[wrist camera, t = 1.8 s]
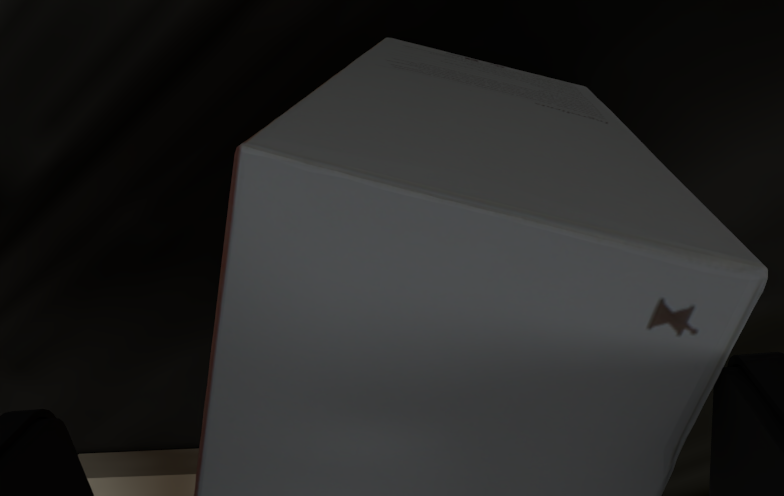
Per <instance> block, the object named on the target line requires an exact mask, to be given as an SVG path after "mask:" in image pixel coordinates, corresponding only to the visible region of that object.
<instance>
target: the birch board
mask: <svg viewBox="0 0 784 496" xmlns="http://www.w3.org/2000/svg"><path fill="white" fill-rule="evenodd" d="M198 453H199V448H196V449H174V450H152V451H131V452H109V453H87V454H78V457H79V460H80V462H81V465H82V467H83V470H84V472H85V475H86V477H87V479H88V482H89V484H90V487H91V489H92V492H93V494H94V496H194V491H195V483H196V471H197V462H198Z"/></svg>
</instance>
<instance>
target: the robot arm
mask: <svg viewBox="0 0 784 496" xmlns="http://www.w3.org/2000/svg"><path fill="white" fill-rule="evenodd" d="M0 496H94V494H93V492H92V489H91V487H90V484H89V482H88V479H87V477H86V475H85V472H84V470H83V467H82V465H81V462H80V460H79V457H78V455H77V453H76V450H75V448H74V445H73V443H72V440H71V438H70V436H69V433H68V431H67V428H66V426H65V424H64V423H63V421H61V420H60V419H57V418H56V417H55V416H54V414H53V413H51V412H50V411H49V410H45V409H39V410H26V411H13V412H8V413H4V414H3V415H1V416H0ZM709 496H784V354H783V353H780V352H771V353H758V354H745V355H734V356H732V357H731V358H730V360H729V362H728V367H723V368H722V370H721V373H720V375H719V377H718V379H717V381H716V383H715V384H714V395H713V418H712V441H711V464H710V487H709Z"/></svg>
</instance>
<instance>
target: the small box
mask: <svg viewBox="0 0 784 496" xmlns="http://www.w3.org/2000/svg"><path fill="white" fill-rule="evenodd" d="M767 279H768V269H767V268H766V267H765V266H764V265H763V264H762V263H761V262H760V261H759V260H758V259H757V258H756V257H755V256H754V255H753V254H752V253H751V252H750V251H749V250H748V249H747V248H746V247H745V246H744V245H743V244H742V243H741V242H740V241H739V240H738V239H737V238H736V237H735V236H734V235H733V234H732V233H731V232H730V231H729V230H728V229H727V228H726V227H725V226H724V225H723V224H722V223H721V222H720V221H719V220H718V219H717V218H716V217H715V216H714V215H713V214H712V213H711V212H710V211H709V210H708V209H707V208H706V207H705V206H704V205H703V204H702V203H701V202H700V201H699V200H698V199H697V198H696V197H695V196H694V195H693V194H692V193H691V192H690V191H689V190H688V189H687V188H686V187H685V186H684V185H683V184H682V183H681V182H680V181H679V180H678V179H677V178H676V177H675V176H674V175H673V174H672V173H671V172H670V171H669V170H668V169H667V168H666V167H665V166H664V165H663V164H662V163H661V162H660V161H659V160H658V159H657V158H656V157H655V156H654V155H653V154H652V153H651V152H650V150H649V149H648V148H647V147H646V146H645V145H644V144H643V143H642V142H641V141H640V140H639V139H638V138H637V137H636V136H635V135H634V134H633V133H632V132H631V131H630V130H629V129H628V128H627V127H626V126H625V125H624V124H623V123H622V122H621V121H620V120H619V119H618V118H617V117H616V116H615V114H614V113H613V112H612V111H611V110H610V109H609V108H607V107H606V106H605V105H604V104H603V103H602V102H601V101H600V100H599V99H598V98H597V97H596V96H595V95H594V94H593V93H592V92H591V91H590V90H589V89H588V88H587V87H585V86H581V85H577V84H573V83H569V82H565V81H561V80H557V79H553V78H549V77H545V76H541V75H537V74H533V73H529V72H525V71H521V70H517V69H513V68H509V67H505V66H501V65H497V64H493V63H489V62H485V61H481V60H477V59H473V58H469V57H465V56H461V55H457V54H453V53H449V52H445V51H442V50H438V49H434V48H430V47H426V46H422V45H418V44H414V43H410V42H406V41H402V40H398V39H394V38H385V39H383V40H382V41H381V42H379V43H378V44H376V45H375V46H374V47H373V48H371V49H370V50H369V51H367V52H365V53H364V54H363V55H361V56H360V57H359V58H357V59H356V60H355V61H353V62H352V63H351V64H349V65H348V66H347V67H346V68H344V69H343V70H341V71H340V72H338V73H337V74H336V75H334V76H333V77H332V78H330V79H329V80H328V81H326V82H325V83H324V84H322V85H321V86H320V87H318V88H317V89H316V90H314V91H313V92H312V93H310V94H309V95H308V96H306V97H305V98H304V99H302V100H301V101H300V102H298V103H297V104H296V105H294V106H293V107H291V108H290V109H289V110H287V111H286V112H285V113H283V114H282V115H281V116H279V117H278V118H276V119H275V120H274V121H272V122H271V123H270V124H268V125H267V126H266V127H265V128H263V129H262V130H260V131H259V132H257V133H256V134H255V135H253V136H252V137H250V138H249V139H248V140H246V141H245V142H243V143H242V144H240V145H239V146H238V147H237V148H236V151H235V155H234V163H233V172H232V180H231V188H230V196H229V204H228V212H227V221H226V229H225V238H224V246H223V255H222V263H221V272H220V280H219V289H218V298H217V307H216V316H215V324H214V332H213V339H212V347H211V355H210V364H209V373H208V382H207V390H206V397H205V405H204V412H203V422H202V432H201V439H200V446H199V453H198V462H197V471H196V483H195V491H194V496H661V495H662V493H663V491H664V489H665V487H666V485H667V482H668V480H669V478H670V476H671V474H672V472H673V469H674V466H675V463H676V460H677V458H678V456H679V453H680V451H681V449H682V447H683V444H684V442H685V440H686V438H687V436H688V434H689V433H690V431H691V429H692V427H693V425H694V423H695V421H696V419H697V417H698V415H699V413H700V411H701V409H702V407H703V405H704V403H705V401H706V399H707V397H708V395H709V394H710V392H711V390H712V388H713V386H714V384H715V383H716V381H717V379H718V377H719V375H720V373H721V370H722V368H723V366H724V364H725V362H726V360H727V358H728V356H729V354H730V352H731V350H732V348H733V346H734V344H735V342H736V340H737V339H738V337H739V335H740V333H741V331H742V329H743V327H744V325H745V324H746V322H747V320H748V318H749V316H750V314H751V312H752V310H753V308H754V306H755V304H756V303H757V301H758V299H759V297H760V295H761V294H762V292H763V290H764V287H765V285H766V282H767Z"/></svg>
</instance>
